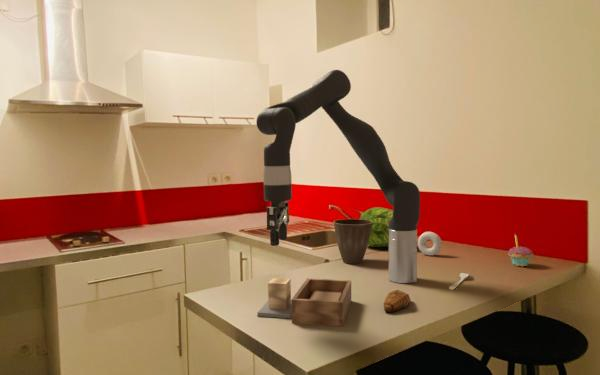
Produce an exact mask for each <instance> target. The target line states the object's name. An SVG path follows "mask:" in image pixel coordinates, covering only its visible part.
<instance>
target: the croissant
mask: <svg viewBox="0 0 600 375" xmlns="http://www.w3.org/2000/svg"><path fill="white" fill-rule="evenodd" d="M410 302H411V297H410V295H409V294H408V293H406V292H404V291H403V290H400V289H395V290H392V291H389V293H388V294H387V296H386V298H385V299H384V302H383V310H384V312H386V313H394V312H397V311H399V310H402V309H404V308H406V307H407V306H408V304H409V303H410Z"/></svg>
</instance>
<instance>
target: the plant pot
mask: <svg viewBox="0 0 600 375" xmlns="http://www.w3.org/2000/svg"><path fill="white" fill-rule="evenodd" d="M371 227H372V222H371V221H369V220H362V219H360V218H359V219H358V218H343V219H342V218H341V219H337V220H333V228H334V235H335V239H336V244H337V247H338V250H339V253H340V257H341V260H342V262H343V263H345V264H349V265H350V264H351V265H357V264H362V262H363V260H364V259H365V258H364V257H365V254H366V252H367V248H368V246H369V245H368V242H369V238H370V233H371Z"/></svg>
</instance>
